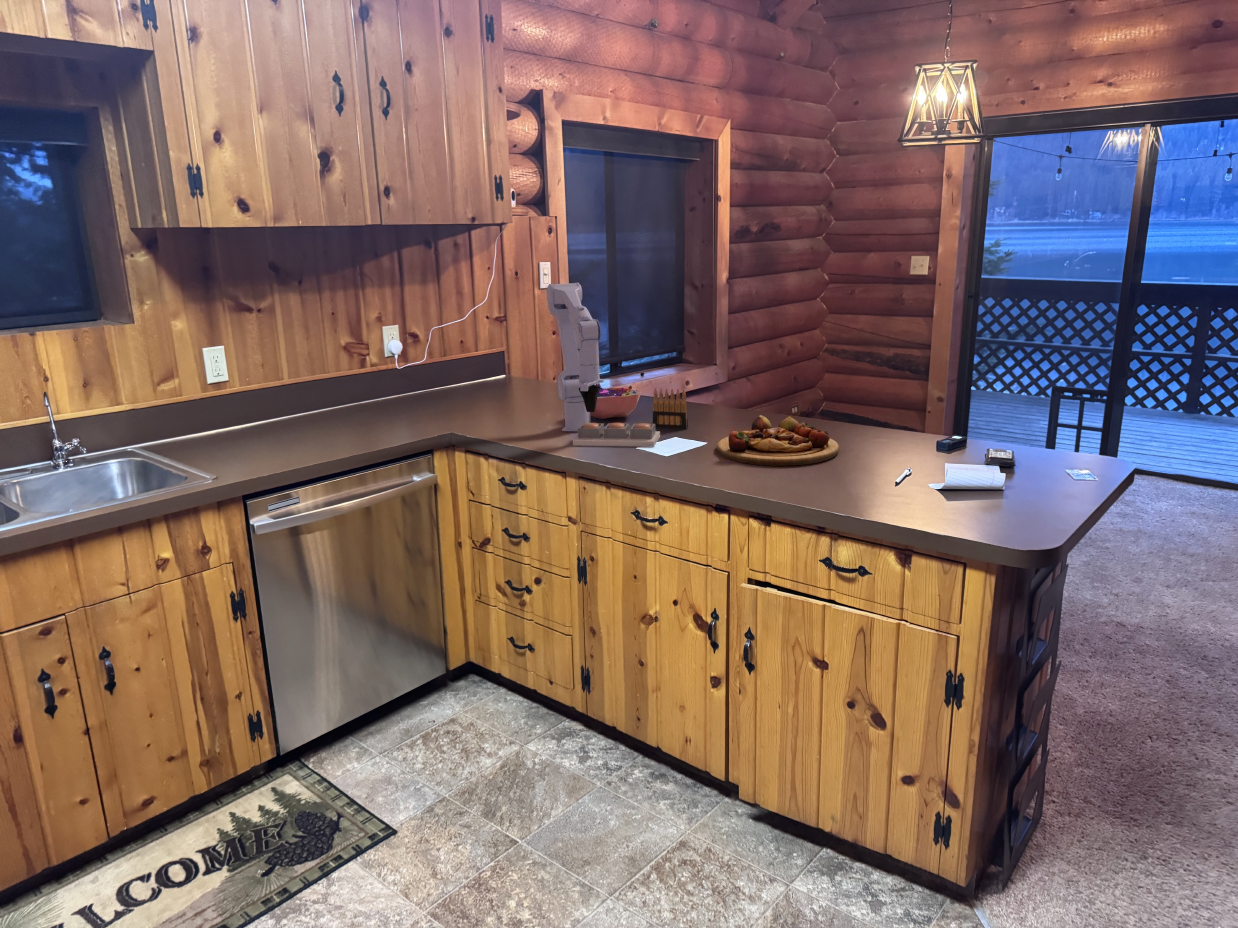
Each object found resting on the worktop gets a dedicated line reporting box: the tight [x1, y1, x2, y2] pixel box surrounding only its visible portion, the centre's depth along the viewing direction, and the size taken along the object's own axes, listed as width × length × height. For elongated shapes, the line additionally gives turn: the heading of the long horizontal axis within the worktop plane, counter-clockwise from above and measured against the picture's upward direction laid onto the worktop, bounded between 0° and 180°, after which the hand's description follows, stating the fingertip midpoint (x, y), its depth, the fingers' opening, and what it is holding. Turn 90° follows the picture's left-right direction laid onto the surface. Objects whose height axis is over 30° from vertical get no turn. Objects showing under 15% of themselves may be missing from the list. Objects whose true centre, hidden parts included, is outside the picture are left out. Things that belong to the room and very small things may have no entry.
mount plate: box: [572, 423, 661, 448], centre depth 244 cm, size 12×23×4 cm, turn 79°
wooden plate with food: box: [716, 414, 840, 467], centre depth 228 cm, size 32×32×8 cm
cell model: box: [590, 383, 642, 420], centre depth 273 cm, size 17×20×11 cm
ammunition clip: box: [652, 388, 689, 430], centre depth 257 cm, size 11×2×12 cm, turn 69°
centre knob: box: [609, 422, 625, 428], centre depth 244 cm, size 4×4×3 cm
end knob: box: [583, 422, 600, 428], centre depth 245 cm, size 4×4×3 cm
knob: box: [635, 422, 651, 429], centre depth 243 cm, size 4×4×3 cm
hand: (590, 411), depth 244 cm, fingers closed
